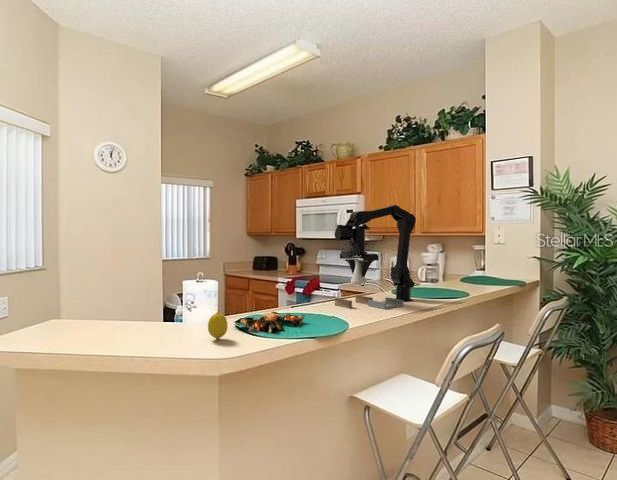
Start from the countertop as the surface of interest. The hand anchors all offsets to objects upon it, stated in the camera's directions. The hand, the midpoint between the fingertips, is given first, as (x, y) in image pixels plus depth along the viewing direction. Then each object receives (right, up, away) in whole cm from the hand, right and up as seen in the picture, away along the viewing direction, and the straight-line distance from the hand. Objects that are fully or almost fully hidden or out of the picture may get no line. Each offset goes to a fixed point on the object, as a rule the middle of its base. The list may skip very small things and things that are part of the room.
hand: (358, 276), depth 174 cm
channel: (-3, -12, -3) cm, 13 cm away
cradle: (+11, -12, -5) cm, 17 cm away
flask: (0, -3, 0) cm, 3 cm away
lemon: (-48, -13, -58) cm, 77 cm away
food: (-35, -14, -39) cm, 54 cm away
